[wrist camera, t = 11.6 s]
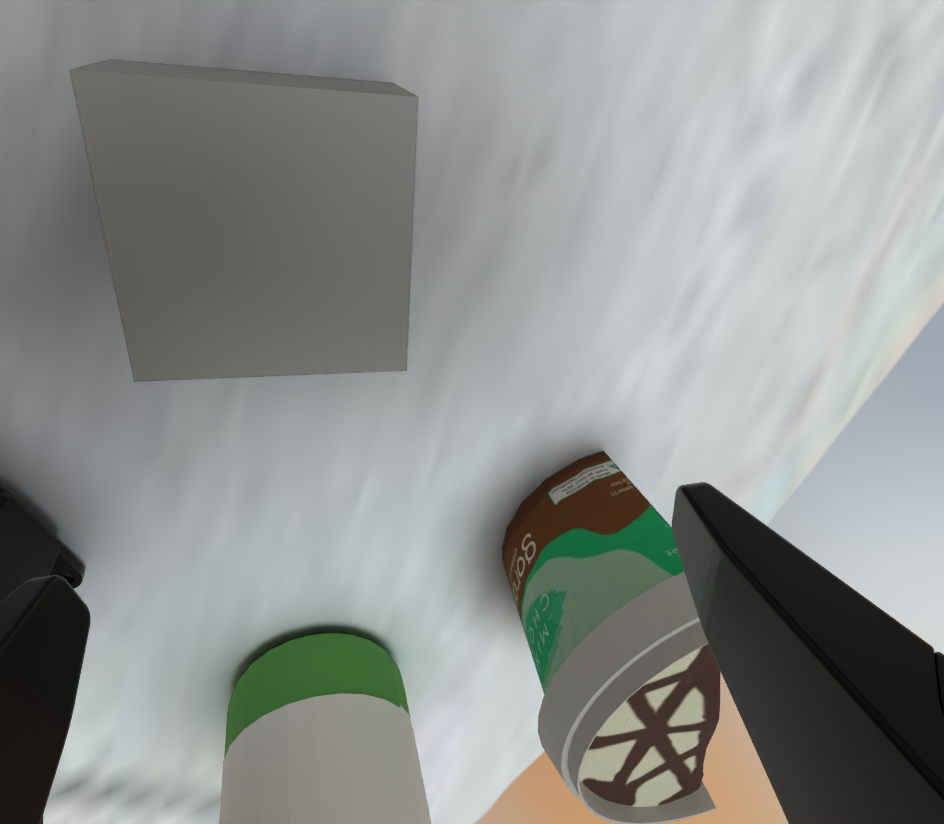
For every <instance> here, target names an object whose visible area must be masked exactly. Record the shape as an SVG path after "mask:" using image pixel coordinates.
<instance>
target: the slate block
mask: <svg viewBox="0 0 944 824" xmlns="http://www.w3.org/2000/svg"><path fill="white" fill-rule="evenodd" d="M70 74H71V79H72V84H73V88H74V93H75V98H76V103H77V108H78V113H79V117H80V122H81V127H82V132H83V137H84V142H85V146H86V151H87V156H88V161H89V166H90V171H91V175H92V180H93V185H94V190H95V195H96V200H97V204H98V209H99V214H100V219H101V224H102V229H103V233H104V238H105V243H106V248H107V253H108V257H109V262H110V267H111V272H112V277H113V282H114V286H115V291H116V296H117V301H118V306H119V311H120V315H121V320H122V325H123V330H124V335H125V340H126V344H127V349H128V354H129V359H130V364H131V369H132V373H133V378H134V382H136V381H161V380H186V379H211V378H236V377H261V376H286V375H311V374H336V373H361V372H386V371H407V348H408V324H409V300H410V277H411V253H412V229H413V205H414V181H415V157H416V134H417V110H418V97H417V96H415V95H414V94H412V93H410V92H408V91H406V90H405V89H403V88H401V87H399V86H397V85H395V84H394V83H387V82H375V81H363V80H351V79H339V78H327V77H315V76H303V75H291V74H279V73H267V72H254V71H242V70H230V69H218V68H206V67H194V66H182V65H170V64H158V63H146V62H133V61H121V60H106V61H102V62H99V63H95V64H91V65H87V66H83V67H79V68H75V69H71V70H70Z"/></svg>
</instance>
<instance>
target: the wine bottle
mask: <svg viewBox="0 0 944 824" xmlns="http://www.w3.org/2000/svg"><path fill="white" fill-rule="evenodd" d="M220 824H431V819H430V814H429V809H428V804H427V799H426V794H425V788H424V783H423V778H422V773H421V768H420V763H419V757H418V752H417V747H416V742H415V737H414V732H413V728H412V724H411V720H410V714H409V709H408V704H407V699H406V694H405V689H404V685H403V681H402V677H401V674H400V671H399V668H398V666H397V665H396V663H395V662H394V661H393V659H392V658H391V657H390V655H389V654H388V653H387V652H386V651H385V650H384V649H383V648H381V647H380V646H378V645H377V644H375V643H373V642H372V641H370V640H368V639H365V638H361V637H358V636H355V635H351V634H340V633H324V634H314V635H308V636H304V637H301V638H297V639H293V640H290V641H288V642H286V643H283V644H281V645H279V646H277V647H275V648H273V649H271V650H269V651H268V652H266V653H265V654H264V655H262V656H261V657H260V658H258V659H257V660H256V661H254V662H253V663H252V664H251V665H250V666H249V668H248V669H247V670H246V671H245V673H244V674H243V675H242V676H241V677H240V679H239V680H238V682H237V684H236V687H235V689H234V692H233V695H232V697H231V700H230V703H229V706H228V712H227V727H226V742H225V758H224V761H223V777H222V792H221V808H220Z"/></svg>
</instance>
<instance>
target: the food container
mask: <svg viewBox="0 0 944 824" xmlns="http://www.w3.org/2000/svg"><path fill="white" fill-rule="evenodd" d="M502 560H503V564H504V568H505V571H506V575H507V578H508V581H509V584H510V587H511V590H512V594H513V597H514V600H515V603H516V606H517V609H518V613H519V616H520V619H521V622H522V625H523V628H524V632H525V635H526V638H527V641H528V644H529V647H530V651H531V654H532V657H533V660H534V663H535V666H536V670H537V673H538V676H539V679H540V682H541V685H542V689H543V692H544V698H543V701H542V705H541V708H540V712H539V717H538V733H539V737H540V741H541V744H542V747H543V748H544V750H545V752H546V753H547V755H548V756H549V758H550V759H551V761H552V763H553V764H554V766H555V767H556V769H557V770H558V772H559V774H560V775H561V777H562V778H563V780H564V781H565V783H566V785H567V786H568V788H569V789H570V791H571V792H572V793H573V794H574V795H575V796H576V797H578V798H579V799H580V800H581V801H582V802H583V803H584V804H585V806H586V808H587V809H588V810H590V811H591V812H592V813H593V814H595V815H596V816H598V817H600V818H602V819H605V820H607V821H610V822H615V823H619V824H660V823H666V822H673V821H678V820H682V819H685V818H689V817H693V816H697V815H700V814H703V813H706V812H709V811H712V810H715V809H716V807H715V805H714V803H713V801H712V799H711V797H710V795H709V793H708V791H707V790H706V788H705V786H704V784H703V782H702V777H703V762H704V757H705V752H706V748H707V746H708V744H709V741H710V739H711V737H712V735H713V733H714V731H715V729H716V726H717V723H718V720H719V710H720V669H719V666H718V664H717V662H716V660H715V657H714V655H713V653H712V651H711V649H710V646H709V644H708V641H707V639H706V636H705V634H704V631H703V628H702V626H701V623H700V620H699V617H698V614H697V610H696V607H695V604H694V601H693V598H692V595H691V591H690V588H689V585H688V582H687V579H686V576H685V573H684V569H683V566H682V563H681V560H680V557H679V554H678V550H677V547H676V544H675V541H674V537H673V533H672V527H671V526H670V525H669V524H668V523H667V522H666V521H665V520H664V518H663V517H662V516H661V515H660V514H659V513H658V512H657V511H656V509H655V508H654V507H653V506H652V505H651V504H650V503H649V501H648V500H647V499H646V498H645V497H644V496H643V495H642V494H641V492H640V491H639V490H638V489H637V488H636V487H635V486H634V485H633V483H632V482H631V481H630V480H629V479H628V478H627V477H626V475H625V474H624V473H623V472H622V471H621V470H620V469H619V468H618V466H617V465H616V464H615V463H614V462H613V461H612V460H611V459H610V457H609V456H608V455H607V454H606V453H605V452H604V451H602V452H599V453H596V454H593V455H591V456H588V457H585V458H582V459H579V460H577V461H575V462H574V463H572V464H570V465H569V466H567V467H565V468H564V469H562V470H560V471H559V472H557V473H555V474H554V475H552V476H550V477H549V478H547V479H546V480H545V481H544V482H543V483H542V484H541V485H540V486H539V487H538V488H537V489H536V490H534V491H533V492H532V493H531V494H530V495H529V496H528V497H527V498H526V499H525V500H524V501H523V502H522V504H521V505H520V507H519V509H518V510H517V512H516V514H515V515H514V517H513V519H512V520H511V522H510V524H509V525H508V527H507V530H506V534H505V538H504V542H503V547H502Z"/></svg>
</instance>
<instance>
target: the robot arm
mask: <svg viewBox="0 0 944 824" xmlns="http://www.w3.org/2000/svg"><path fill="white" fill-rule="evenodd" d="M672 533H673V537H674V541H675V544H676V547H677V550H678V554H679V557H680V560H681V563H682V566H683V569H684V573H685V576H686V579H687V582H688V585H689V588H690V591H691V595H692V598H693V601H694V604H695V607H696V610H697V614H698V617H699V620H700V623H701V626H702V628H703V631H704V634H705V636H706V639H707V641H708V644H709V646H710V649H711V651H712V653H713V655H714V657H715V660H716V662H717V664H718V666H719V669H720V671H721V673H722V675H723V677H724V680H725V682H726V684H727V686H728V689H729V690H730V693H731V695H732V698H733V700H734V702H735V704H736V707H737V709H738V711H739V713H740V716H741V718H742V720H743V722H744V724H745V727H746V729H747V731H748V733H749V736H750V738H751V740H752V742H753V745H754V747H755V749H756V751H757V754H758V756H759V758H760V760H761V762H762V765H763V767H764V769H765V771H766V774H767V776H768V778H769V780H770V783H771V785H772V787H773V789H774V791H775V794H776V796H777V798H778V800H779V803H780V805H781V807H782V809H783V812H784V814H785V816H786V818H787V821H788V823H789V824H944V655H943V654H942V653H940V652H935V653H934V649H933V647H932V646H931V645H929V644H928V643H926V642H925V641H924V640H922V639H921V638H919V637H918V636H917V635H916V634H914V633H913V632H911V631H910V630H909V629H907V628H906V627H905V626H903V625H902V624H900V623H899V622H898V621H896V620H895V619H894V618H892V617H891V616H889V615H888V614H887V613H885V612H884V611H883V610H881V609H880V608H879V607H877V606H876V605H874V604H873V603H872V602H870V601H869V600H868V599H866V598H865V597H864V596H862V595H861V594H859V593H858V592H857V591H855V590H854V589H853V588H851V587H850V586H848V585H847V584H846V583H844V582H843V581H841V580H840V579H839V578H838V577H836V576H835V575H833V574H832V573H830V572H829V571H828V570H827V569H825V568H824V567H822V566H821V565H820V564H818V563H817V562H816V561H814V560H813V559H811V558H810V557H809V556H807V555H806V554H805V553H803V552H802V551H801V550H799V549H798V548H796V547H795V546H794V545H792V544H791V543H790V542H788V541H787V540H785V539H784V538H783V537H781V536H780V535H779V534H777V533H776V532H775V531H773V530H772V529H770V528H769V527H768V526H766V525H765V524H764V523H762V522H761V521H760V520H758V519H757V518H755V517H754V516H753V515H751V514H750V513H749V512H747V511H746V510H744V509H743V508H742V507H740V506H739V505H738V504H736V503H735V502H734V501H732V500H731V499H729V498H728V497H727V496H725V495H724V494H723V493H721V492H720V491H718V490H717V489H716V488H714V487H713V486H712V485H710V484H708V483H705V482H700V483H693V484H686V485H681V486H679V487H678V489H677V491H676V496H675V504H674V511H673V518H672ZM63 574H70V575H72V576H65V575H63ZM84 575H85V569H84V567H83V566H82V565H81V564H80V563H79V562H78V561H77V560H76V559H75V558H74V557H73V556H72V555H71V554H70V553H69V552H68V551H66V550H65V549H64V548H63V547H62V546H61V545H60V543H59V542H58V541H57V540H56V539H55V538H54V537H53V536H52V535H51V534H50V533H49V532H48V531H47V530H46V529H45V528H44V527H42V526H41V525H40V524H39V523H38V522H37V521H36V520H35V519H34V518H33V517H32V516H31V515H30V514H29V513H28V512H27V511H26V510H25V509H23V508H22V507H21V506H20V505H19V504H18V503H17V502H16V501H15V500H14V499H13V498H12V497H10V496H8V495H7V494H6V493H5V492H4V491H3V490H2V489H1V488H0V824H43V813H44V810H45V806H46V803H47V800H48V797H49V793H50V790H51V787H52V784H53V780H54V777H55V774H56V770H57V767H58V764H59V761H60V757H61V754H62V751H63V748H64V744H65V741H66V737H67V734H68V730H69V727H70V722H71V718H72V714H73V709H74V704H75V699H76V694H77V689H78V684H79V679H80V674H81V669H82V664H83V659H84V653H85V648H86V643H87V638H88V633H89V628H90V612H89V609H88V607H87V605H86V604H85V603H84V602H83V600H82V599H81V598H80V597H79V595H78V594H77V593H76V592H75V590H74V588H76V587H78V586H79V585H80V584H81V582H82V580H83V577H84Z"/></svg>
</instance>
